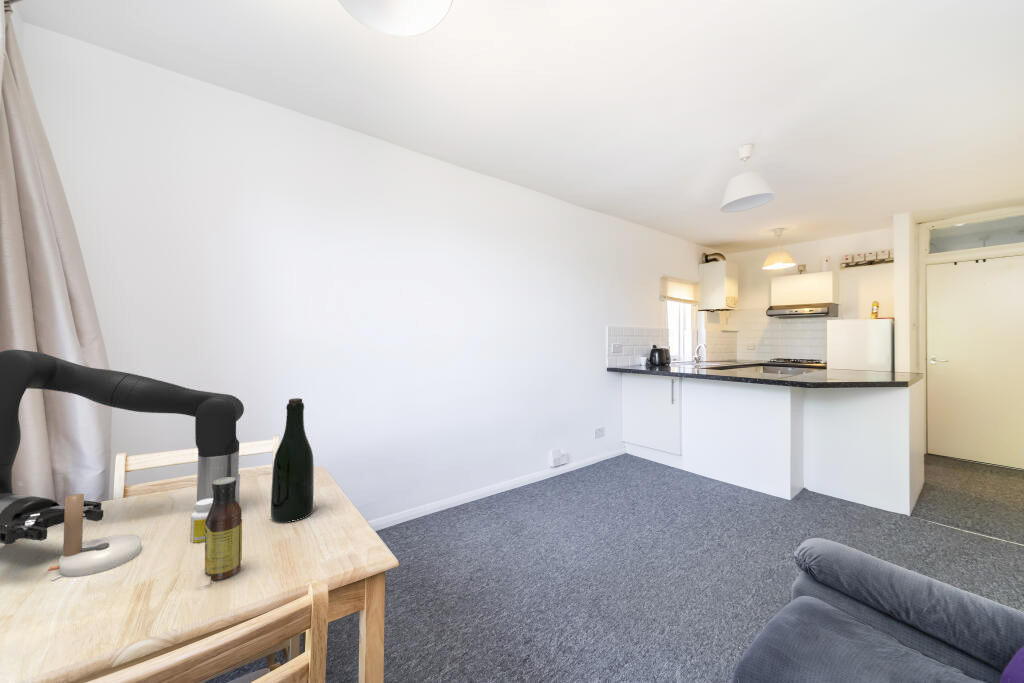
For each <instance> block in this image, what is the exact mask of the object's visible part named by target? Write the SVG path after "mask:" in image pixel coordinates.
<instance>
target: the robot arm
mask: <svg viewBox="0 0 1024 683" xmlns="http://www.w3.org/2000/svg"><path fill="white" fill-rule="evenodd" d="M27 389H29V390H30V389H34V390H35V389H36V390H46V391H47V390H48V391H55V392H62V393H68V394H72V395H76V396H80V397H81V398H84V399H87V400H89V401H92V402H94V403H97V404H100V405H103V406H106V407H111V408H116V409H120V410H121V409H122V410H125V411H130V412H137V413H146V414H147V413H150V414H174V415H175V414H176V415H182V416H183V415H185V416H190V417H194V418H195V420H194V429H195V430H194V431H195V438H194V439H195V446H196V448H197V476H196V477H197V479H196V480H197V481H196V502H198V501H200V500H204V499H209V498H213V489H212V484H213V482H214V481H215V480H218V479H221V478H226V477H234V478H236V486H235V496H236V497H235V500H236V501H237V502H238V503H239V504H240V493H241V491H240V490H241V486H240V485H241V483H240V482H241V474H239V465H240V441H239V439H238V437H237V421H239V420H240V419H241V418H242V416H243V415H244V412H245V407H244V404H243V401H242V400H240V399H239V398H238V397H236V396H234V395H231V394H226V393H219V392H213V391H211V392H210V391H204V390H196V389H192V388H188V387H184V386H181V385H177V384H175V383H170V382H167V381H164V380H159V379H155V378H151V377H148V376H145V375H144V376H142V375H139V374H135V373H129V372H126V371H125V372H124V371H119V370H113V369H104V368H96V367H90V366H87V365H86V366H85V365H82V364H78V363H74V362H70V361H68V360H65V359H61V358H60V357H59V358H58V357H56V356H53V355H50V354H47V353H43V352H39V351H38V352H37V351H32V350H25V349H6V350H2V351H0V543H1V544H2V545H3V544H4V545H11V544H15V543H16V541H17V540H20V539H21V541H26V540H27V541H28V540H32V541H39V542H42V541H45V540H47V538H48V528H52V527H57V526H59V525H64V514H65V506H63V505H60V503H58V502H57V501H55V500H54V499H51V498H46V497H40V496H35V495H29V494H28V495H27V494H25V495H24V494H15V493H14V491H13V480H12V479H13V477H12V475H13V472H12V471H13V466H14V462H15V460H16V457H17V454H18V451H19V448H20V444H21V436H22V434H21V425H20V419H19V417H20V416H19V415H20V414H19V412H20V411H19V410H20V406H21V405H20V404H21V402H22V399H23V396H24V395H25V393H26V391H27ZM102 504H103V503H102V502H98V501H91V500H85V499H84V505H83V520H88V521H93V522H99V521H102V520H103V518H104V510H103V509H102Z"/></svg>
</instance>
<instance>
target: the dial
mask: <svg viewBox="0 0 1024 683" xmlns="http://www.w3.org/2000/svg"><path fill="white" fill-rule="evenodd" d="M84 498H85V494H84V493H76V494H74V493H73V494H70V495H67V496H65V497H64V507H65V514H64V524H63V545H62V546H63V548H62V550H63V551H62V552H63V553H62V555H61V556H60V557H59V558H58V559H59V560H58V562H59V563H58V565H59V569H58V574H59V576H60V575H62V576H63V577H67V578H73V577H75V578H76V577H83V576H88V575H93V574H97V573H100V572H104V571H107V570H111V569H114V568H117V567H119V566H122V565H123V564H125V563H127V562H129V561H131V560H133V559H134V558H136V557H137V556H139V554H140V553H141V550H142V537H141V536H140V535H138V534H133V533H129V534H128V533H126V534H116V535H111V536H106V537H100V538H97V539H93V540H90V541H87V542H84V543H83V534H84V529H83V528H84V519H83V516H84V514H83V505H84V500H85V499H84Z"/></svg>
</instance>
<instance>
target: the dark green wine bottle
mask: <svg viewBox="0 0 1024 683" xmlns="http://www.w3.org/2000/svg"><path fill="white" fill-rule="evenodd" d="M285 407H286V408H285V409H286V420H285V426H284V433H283V435H282V437H281V440H280V442H279V445H278V448H277V449H276V452H275V454H274V458H273V462H272V464H273V465H272V475H271V476H272V477H271V478H272V479H271V494H270V495H271V496H270V519H271V520H273V521H274V522H278V523H289V522H288V521H291V522H293V521H292V520H296V521H298V520H297V519H299V520H301V519H300V518H302V519H304V518H306V517H308V516H310V515H311V514H312V512H313V511H314V485H315V484H314V483H315V482H314V480H315V479H314V478H315V476H314V472H315V471H314V468H315V466H314V454H313V449H312V447H311V445H310V442H309V439H308V437H307V434H306V430H305V429H306V428H305V421H304V419H305V418H304V415H305V413H304V410H305V405H304V402H303V398H299V397H298V398H297V397H296V398H295V397H294V398H289V399H288V403H287V404H286V406H285ZM307 515H308V516H307ZM305 516H306V517H305ZM303 517H304V518H303Z"/></svg>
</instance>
